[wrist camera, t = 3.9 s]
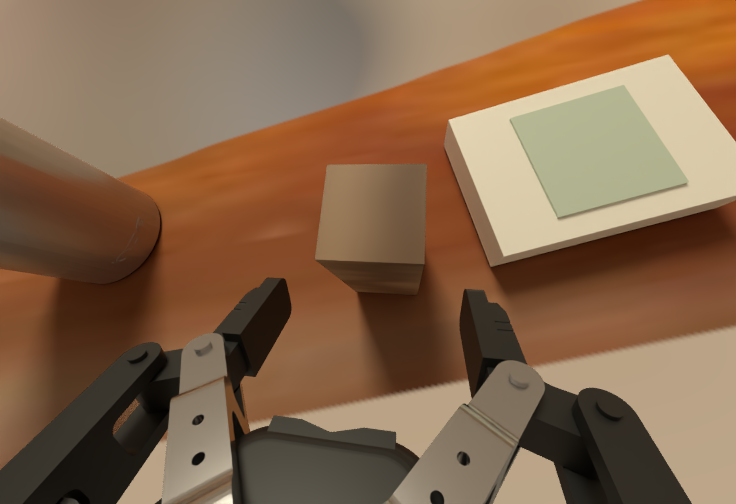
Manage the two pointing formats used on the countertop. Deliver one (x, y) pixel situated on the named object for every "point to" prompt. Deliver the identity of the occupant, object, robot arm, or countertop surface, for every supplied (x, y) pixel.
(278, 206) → the countertop surface
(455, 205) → the countertop surface
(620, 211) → the plinth
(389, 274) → the walnut block
